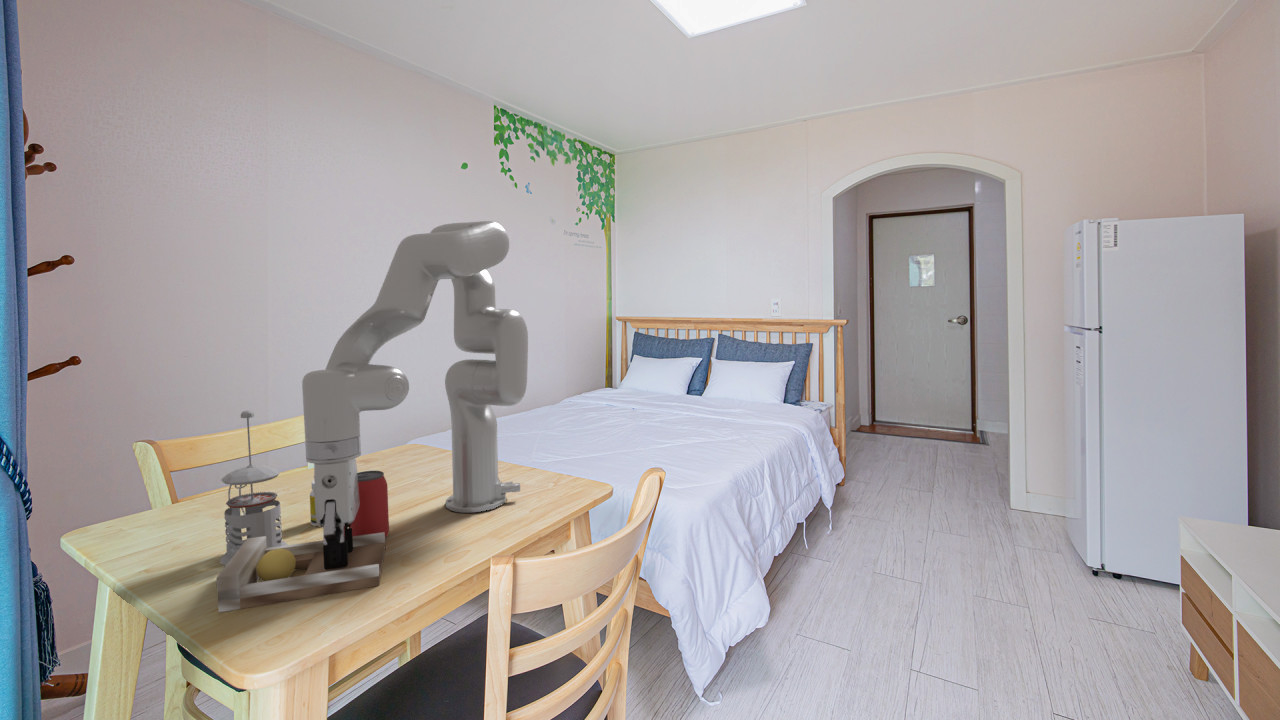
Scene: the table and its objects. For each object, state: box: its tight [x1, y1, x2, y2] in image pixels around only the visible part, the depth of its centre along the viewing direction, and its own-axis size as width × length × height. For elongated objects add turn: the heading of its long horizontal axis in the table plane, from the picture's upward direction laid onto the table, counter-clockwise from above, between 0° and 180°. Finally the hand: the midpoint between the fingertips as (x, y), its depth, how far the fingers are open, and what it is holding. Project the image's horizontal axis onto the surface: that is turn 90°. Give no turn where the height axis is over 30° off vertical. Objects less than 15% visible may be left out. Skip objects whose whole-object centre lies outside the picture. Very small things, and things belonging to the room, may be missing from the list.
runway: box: [216, 532, 386, 613], centre depth 84 cm, size 20×14×5 cm
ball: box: [257, 549, 296, 582], centre depth 82 cm, size 5×5×5 cm
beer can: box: [349, 470, 390, 538], centre depth 98 cm, size 7×7×12 cm
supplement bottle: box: [309, 480, 319, 527], centre depth 106 cm, size 5×5×8 cm
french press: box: [219, 410, 289, 566], centre depth 92 cm, size 10×12×25 cm
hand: (339, 558), depth 85 cm, fingers open, 4 cm apart
